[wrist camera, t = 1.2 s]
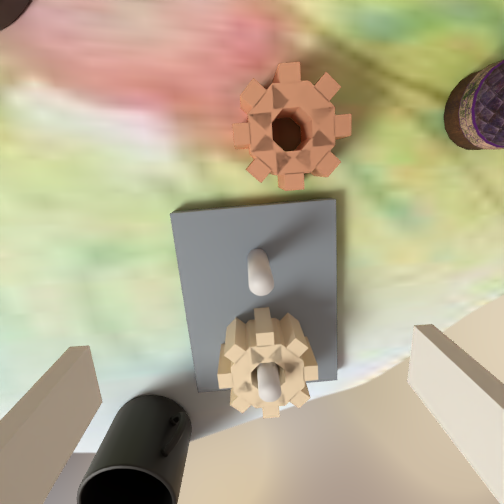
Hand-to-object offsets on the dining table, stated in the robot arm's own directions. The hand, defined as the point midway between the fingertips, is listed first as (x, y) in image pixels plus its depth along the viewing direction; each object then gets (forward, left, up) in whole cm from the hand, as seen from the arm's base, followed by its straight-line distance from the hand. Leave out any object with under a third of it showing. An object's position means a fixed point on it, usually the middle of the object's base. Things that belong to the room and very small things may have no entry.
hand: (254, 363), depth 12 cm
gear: (-10, +4, -20) cm, 23 cm away
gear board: (+6, +1, -20) cm, 21 cm away
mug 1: (+21, -13, -20) cm, 32 cm away
